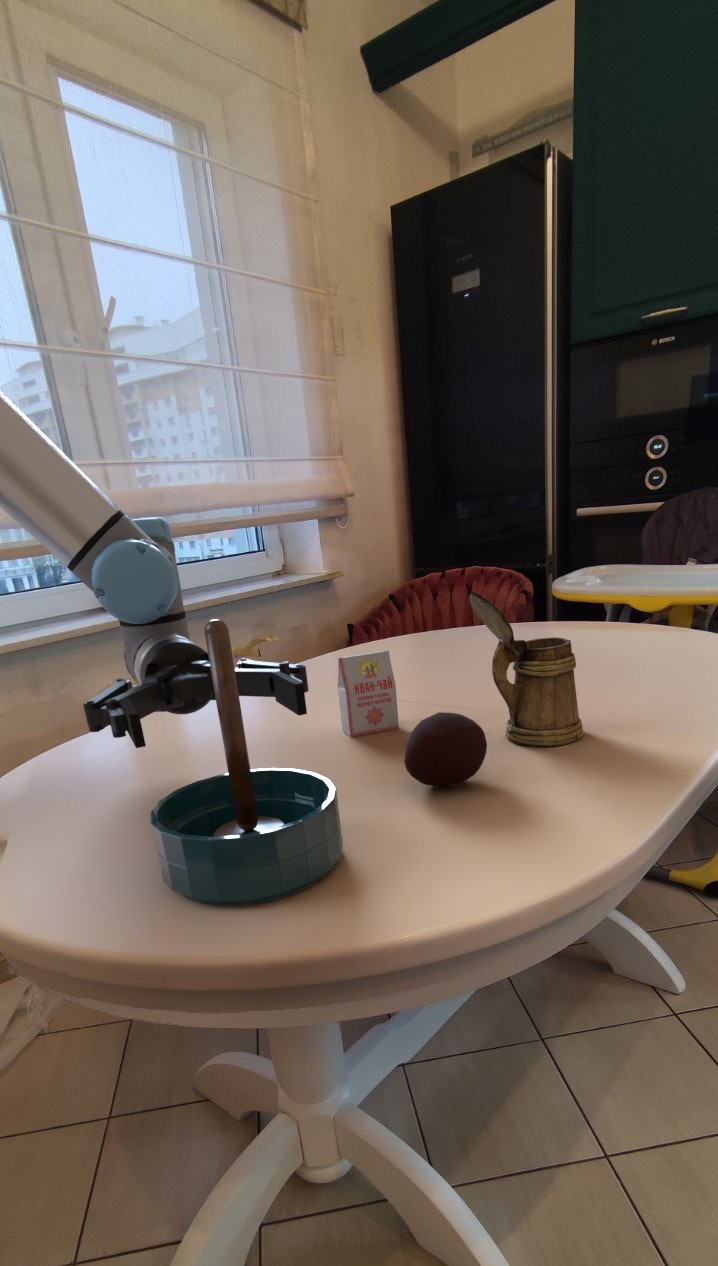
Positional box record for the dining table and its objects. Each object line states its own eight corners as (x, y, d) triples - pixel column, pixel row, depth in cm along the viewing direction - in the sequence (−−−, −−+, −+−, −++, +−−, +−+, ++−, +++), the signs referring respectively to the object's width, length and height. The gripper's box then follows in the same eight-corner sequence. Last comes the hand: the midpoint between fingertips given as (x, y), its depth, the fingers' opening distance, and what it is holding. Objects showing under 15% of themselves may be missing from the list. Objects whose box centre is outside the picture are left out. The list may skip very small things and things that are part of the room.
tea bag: (342, 730, 97) (334, 656, 94) (389, 721, 99) (383, 648, 95) (350, 736, 94) (342, 660, 90) (398, 728, 96) (393, 652, 92)
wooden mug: (459, 738, 89) (453, 588, 83) (557, 720, 92) (559, 574, 86) (491, 759, 81) (487, 594, 75) (597, 738, 84) (603, 578, 78)
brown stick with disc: (204, 869, 60) (157, 627, 53) (239, 839, 65) (201, 614, 58) (268, 876, 58) (229, 624, 51) (299, 843, 63) (268, 611, 56)
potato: (506, 783, 74) (505, 710, 71) (434, 808, 70) (429, 731, 67) (457, 765, 80) (454, 697, 78) (387, 786, 76) (381, 716, 73)
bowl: (127, 900, 58) (110, 832, 56) (222, 823, 71) (212, 765, 69) (298, 920, 53) (287, 846, 51) (367, 832, 66) (361, 771, 64)
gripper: (290, 687, 83) (365, 728, 65) (61, 729, 74) (73, 791, 56) (281, 620, 80) (358, 644, 62) (42, 657, 72) (48, 697, 53)
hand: (222, 714), depth 59 cm, fingers open, 13 cm apart
